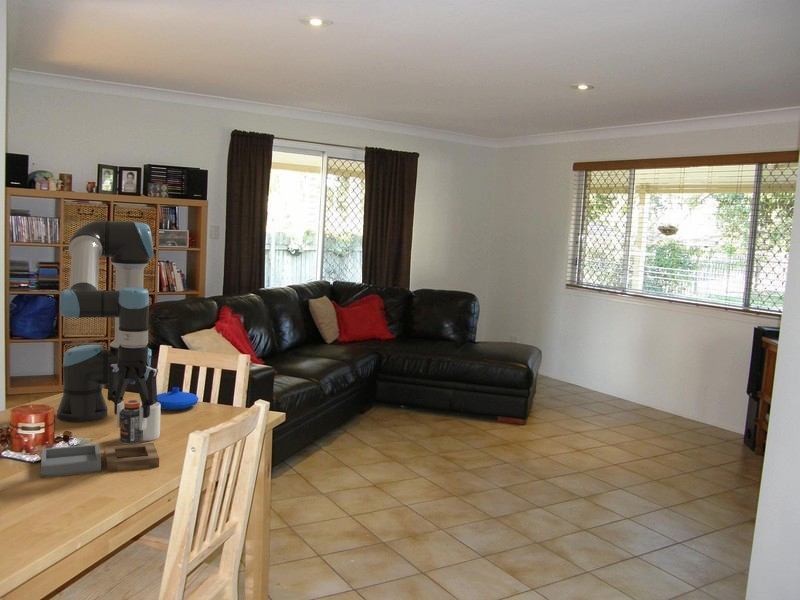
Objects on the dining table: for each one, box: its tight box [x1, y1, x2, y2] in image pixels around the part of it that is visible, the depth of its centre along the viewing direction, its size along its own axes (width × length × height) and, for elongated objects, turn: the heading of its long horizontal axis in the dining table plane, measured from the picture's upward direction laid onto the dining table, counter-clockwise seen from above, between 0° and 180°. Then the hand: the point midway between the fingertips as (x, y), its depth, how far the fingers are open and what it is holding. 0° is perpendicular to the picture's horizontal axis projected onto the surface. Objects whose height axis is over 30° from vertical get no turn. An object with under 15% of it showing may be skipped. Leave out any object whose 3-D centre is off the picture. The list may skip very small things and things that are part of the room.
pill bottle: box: [119, 399, 143, 445], centre depth 187 cm, size 6×6×11 cm
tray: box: [40, 443, 102, 479], centre depth 182 cm, size 14×14×3 cm
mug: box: [140, 401, 162, 442], centre depth 206 cm, size 12×8×10 cm
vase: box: [157, 386, 199, 411], centre depth 242 cm, size 16×16×7 cm
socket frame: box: [104, 442, 160, 473], centre depth 190 cm, size 16×13×2 cm
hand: (131, 427), depth 188 cm, fingers closed on pill bottle, 6 cm apart
